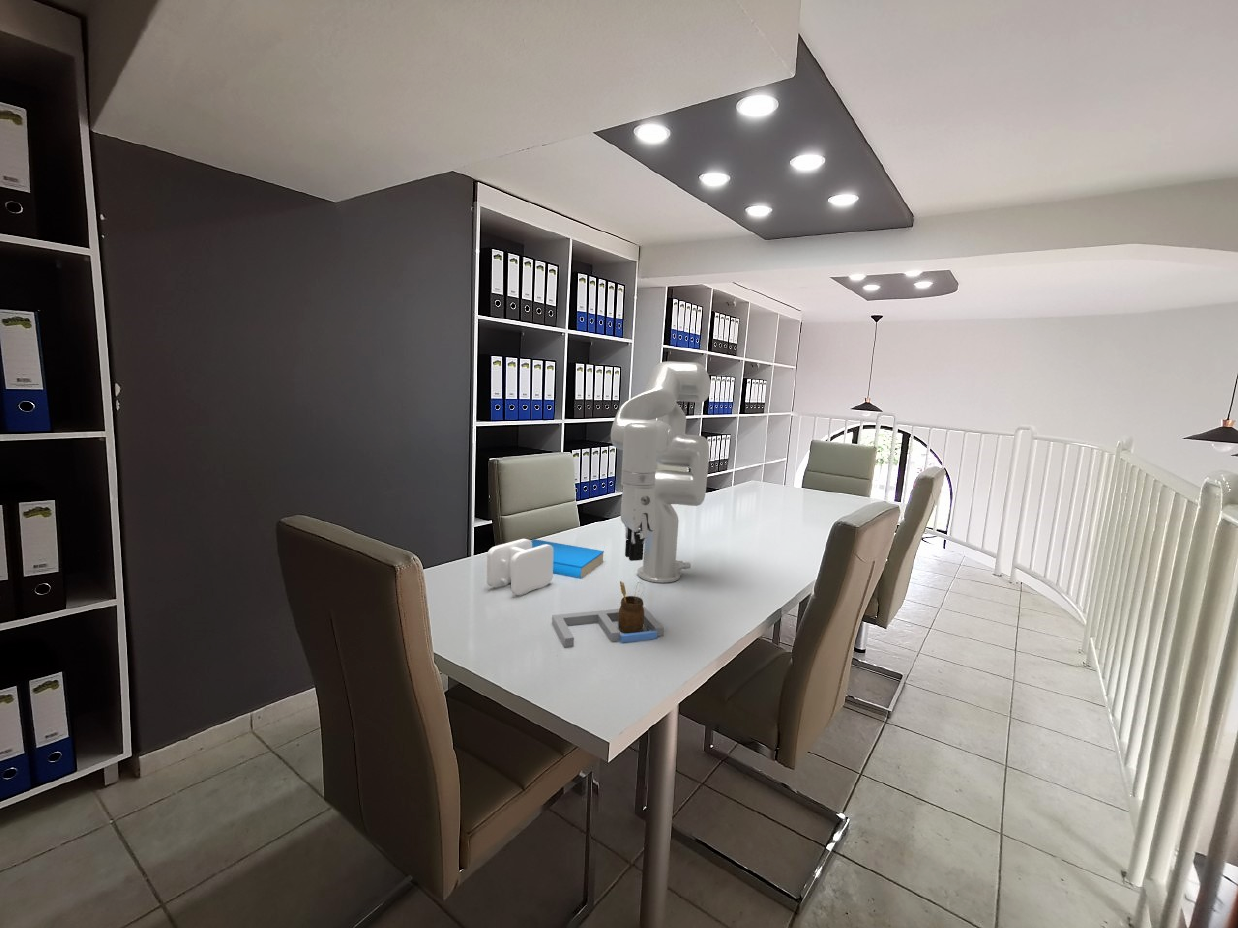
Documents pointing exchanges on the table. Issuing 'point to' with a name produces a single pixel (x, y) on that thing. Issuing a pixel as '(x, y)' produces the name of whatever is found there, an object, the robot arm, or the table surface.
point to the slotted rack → (604, 626)
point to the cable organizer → (520, 566)
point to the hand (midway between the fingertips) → (633, 557)
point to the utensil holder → (631, 612)
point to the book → (572, 558)
